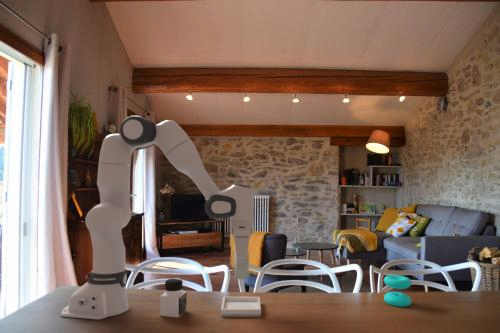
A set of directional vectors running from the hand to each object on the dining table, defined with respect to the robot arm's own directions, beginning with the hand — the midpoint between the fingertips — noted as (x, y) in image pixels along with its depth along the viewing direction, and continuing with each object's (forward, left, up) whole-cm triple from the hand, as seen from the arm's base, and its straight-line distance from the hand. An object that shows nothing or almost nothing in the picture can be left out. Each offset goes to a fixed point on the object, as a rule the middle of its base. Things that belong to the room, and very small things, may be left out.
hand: (241, 266), depth 137 cm
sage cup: (0, 0, -4) cm, 4 cm away
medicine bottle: (-24, -4, -16) cm, 29 cm away
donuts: (+61, +8, -16) cm, 64 cm away
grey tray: (0, 0, -16) cm, 16 cm away
